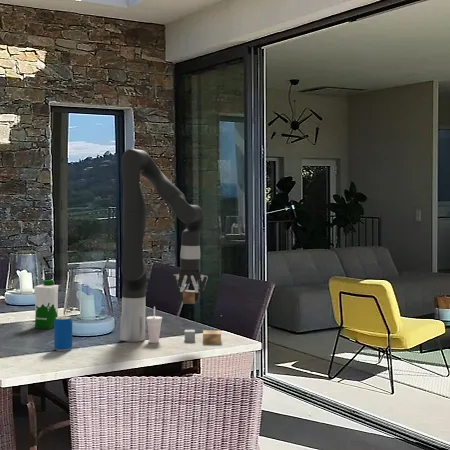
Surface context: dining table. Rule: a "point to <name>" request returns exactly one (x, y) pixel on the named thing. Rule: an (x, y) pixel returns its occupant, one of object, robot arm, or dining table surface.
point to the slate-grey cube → (189, 335)
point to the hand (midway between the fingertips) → (189, 301)
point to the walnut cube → (189, 297)
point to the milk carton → (46, 304)
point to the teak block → (211, 336)
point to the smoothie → (154, 327)
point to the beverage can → (63, 333)
